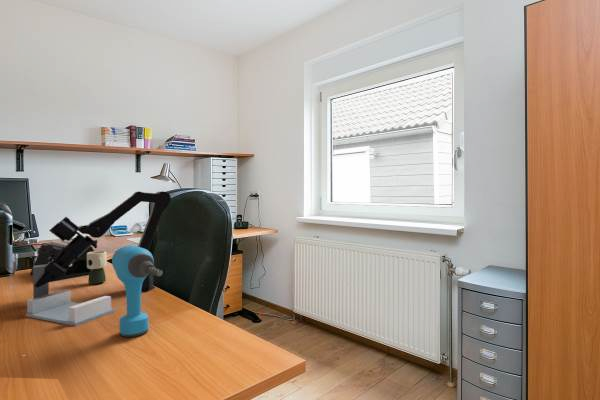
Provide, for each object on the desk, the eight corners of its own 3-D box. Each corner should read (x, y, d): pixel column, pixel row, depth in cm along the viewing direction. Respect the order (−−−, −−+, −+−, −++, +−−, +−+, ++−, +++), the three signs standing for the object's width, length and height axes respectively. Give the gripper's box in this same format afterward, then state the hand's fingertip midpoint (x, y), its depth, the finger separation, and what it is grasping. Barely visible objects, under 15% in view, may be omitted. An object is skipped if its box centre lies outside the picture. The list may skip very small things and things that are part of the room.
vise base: (114, 311, 112) (114, 296, 112) (75, 326, 100) (75, 309, 99) (67, 303, 120) (67, 289, 120) (25, 316, 108) (25, 300, 107)
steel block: (49, 301, 122) (48, 264, 122) (48, 304, 119) (47, 266, 118) (34, 303, 120) (34, 265, 120) (33, 306, 117) (32, 267, 116)
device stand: (83, 267, 180) (82, 237, 179) (104, 272, 166) (103, 241, 166) (30, 275, 161) (29, 243, 161) (49, 283, 148) (48, 247, 148)
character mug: (84, 282, 147) (83, 251, 147) (102, 279, 152) (102, 249, 152) (90, 287, 140) (90, 255, 139) (110, 284, 145) (110, 252, 144)
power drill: (179, 350, 84) (178, 253, 84) (142, 362, 78) (141, 258, 78) (138, 319, 105) (137, 241, 104) (106, 327, 99) (105, 244, 98)
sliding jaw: (70, 302, 118) (70, 290, 118) (32, 313, 107) (32, 300, 107) (65, 301, 119) (65, 289, 119) (27, 312, 108) (27, 299, 108)
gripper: (55, 232, 129) (18, 265, 123) (52, 237, 113) (9, 276, 107) (81, 251, 133) (46, 284, 128) (82, 259, 118) (42, 297, 112)
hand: (36, 285), depth 118 cm, fingers closed on steel block, 4 cm apart
